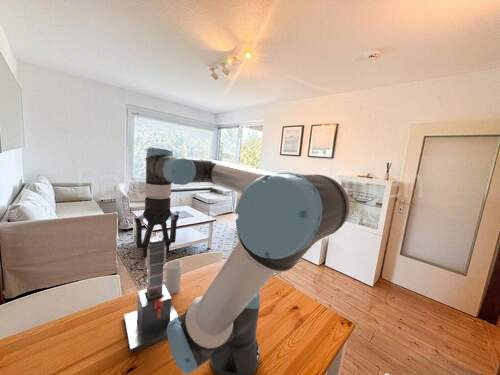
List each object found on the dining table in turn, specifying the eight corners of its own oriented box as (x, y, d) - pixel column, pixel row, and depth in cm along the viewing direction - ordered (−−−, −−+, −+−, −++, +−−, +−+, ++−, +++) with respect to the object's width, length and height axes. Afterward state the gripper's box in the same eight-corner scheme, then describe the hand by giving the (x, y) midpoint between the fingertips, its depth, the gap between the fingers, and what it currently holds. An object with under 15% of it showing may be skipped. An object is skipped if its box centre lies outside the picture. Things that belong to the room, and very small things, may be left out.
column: (162, 301, 71) (165, 240, 69) (148, 305, 69) (150, 242, 66) (159, 293, 75) (162, 235, 72) (145, 297, 72) (147, 237, 69)
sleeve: (183, 331, 72) (185, 297, 70) (130, 353, 62) (131, 315, 60) (169, 303, 84) (171, 274, 83) (124, 318, 75) (124, 286, 73)
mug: (181, 285, 97) (183, 260, 95) (179, 294, 90) (180, 268, 89) (158, 285, 95) (159, 260, 93) (154, 294, 88) (155, 268, 87)
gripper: (181, 193, 75) (177, 254, 78) (125, 194, 65) (124, 265, 68) (188, 197, 69) (184, 263, 72) (128, 199, 59) (127, 276, 62)
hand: (155, 264), depth 70 cm, fingers closed on column, 4 cm apart
